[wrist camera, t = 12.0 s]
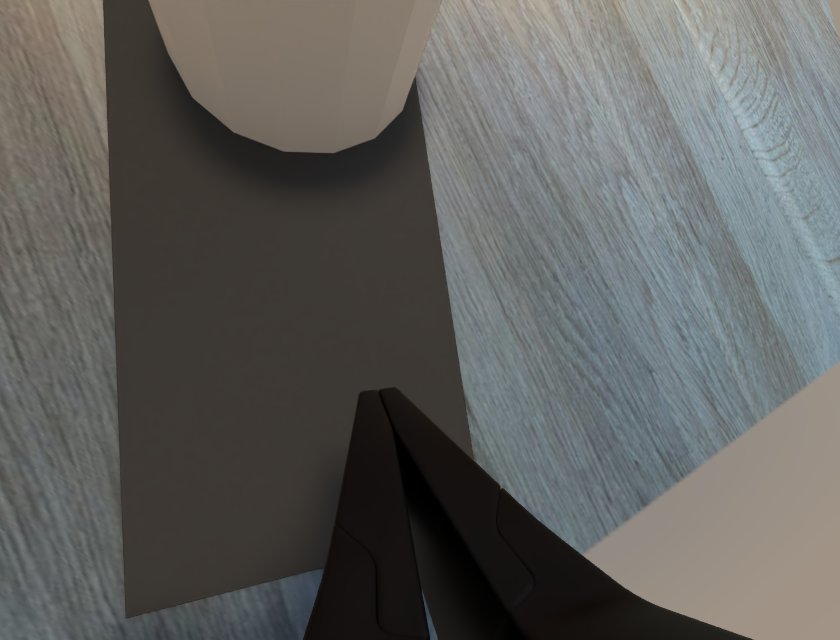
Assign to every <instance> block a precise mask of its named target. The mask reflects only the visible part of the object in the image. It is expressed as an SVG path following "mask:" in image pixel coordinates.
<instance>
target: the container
mask: <svg viewBox="0 0 840 640" xmlns="http://www.w3.org/2000/svg"><path fill="white" fill-rule="evenodd" d="M148 1H149V3H150V6H151V9H152V11H153V14H154V17H155V19H156V22H157V25H158V27H159V30H160V33H161V35H162V38H163V41H164V43H165V46H166V49H167V51H168V54H169V56H170V58H171V60H172V61H173V63H174V65H175V67H176V69H177V70H178V72H179V74H180V76H181V78H182V80H183V81H184V83H185V85H186V87H187V89H188V91H189V92H190V94H191V96H192V98H193V99H195V100H196V101H197V102H198V103H199V104H201V105H202V106H203V107H204V108H205V109H206V110H208V111H209V112H210V113H211V114H212V115H214V116H215V117H216V118H217V119H218V120H220V121H221V122H222V123H223V124H224V125H226V126H227V127H228V128H229V129H230V130H232V131H233V132H234V133H237V134H239V135H242V136H245V137H247V138H250V139H252V140H255V141H258V142H260V143H263V144H265V145H268V146H271V147H273V148H276V149H279V150H281V151H284V152H313V153H336V152H338V151H341V150H344V149H347V148H349V147H352V146H355V145H358V144H360V143H363V142H366V141H369V140H372V139H374V138H376V137H377V136H378V135H379V134H380V133H381V132H382V131H383V130H384V129H385V128H386V127H387V126H388V125H389V124H390V123H391V122H392V121H393V120H394V119H395V118H396V117H397V116H398V115H399V114H400V113H401V112H402V110H403V107H404V105H405V102H406V99H407V96H408V93H409V91H410V88H411V85H412V82H413V80H414V77H415V74H416V71H417V68H418V66H419V63H420V60H421V57H422V55H423V52H424V49H425V46H426V43H427V41H428V38H429V35H430V32H431V30H432V27H433V24H434V21H435V19H436V16H437V13H438V10H439V7H440V5H441V2H442V0H148Z"/></svg>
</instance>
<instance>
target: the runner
mask: <svg viewBox="0 0 840 640" xmlns="http://www.w3.org/2000/svg"><path fill="white" fill-rule="evenodd" d="M103 11H104V38H105V65H106V93H107V120H108V147H109V175H110V202H111V229H112V256H113V284H114V311H115V338H116V366H117V393H118V420H119V448H120V475H121V502H122V529H123V557H124V584H125V611H126V618H130V617H133V616H137V615H141V614H145V613H149V612H153V611H157V610H161V609H164V608H168V607H172V606H176V605H180V604H184V603H188V602H192V601H195V600H199V599H203V598H207V597H211V596H215V595H219V594H223V593H226V592H230V591H234V590H238V589H242V588H246V587H250V586H254V585H257V584H261V583H265V582H269V581H273V580H277V579H281V578H285V577H288V576H292V575H296V574H300V573H304V572H308V571H312V570H316V569H319V568H323V567H325V564H326V560H327V555H328V551H329V547H330V541H331V536H332V531H333V527H334V522H335V516H336V511H337V506H338V501H339V496H340V490H341V485H342V480H343V475H344V470H345V464H346V459H347V454H348V449H349V444H350V438H351V433H352V428H353V423H354V418H355V412H356V407H357V402H358V397H359V393H360V392H361V391H368V390H377V391H378V390H380V389H383V388H390V387H396V388H398V389H399V390H400V391H401V392H402V393H403V394H404V395H405V396H406V397H407V398H408V399H409V400H410V401H412V402H413V403H414V404H415V405H416V406H417V407H418V408H419V409H420V410H421V411H422V412H423V413H424V414H425V415H426V416H427V417H428V418H429V419H431V420H432V421H433V422H434V423H435V424H436V425H437V426H438V427H439V428H440V429H441V430H442V431H443V432H444V433H445V434H446V435H447V436H448V437H450V438H451V439H452V440H453V441H454V442H455V443H456V444H457V445H458V446H459V447H460V448H461V449H462V450H463V451H464V452H465V453H466V454H467V455H469V456H470V457H471V458H472V459H473V460H474V457H473V451H472V444H471V438H470V431H469V425H468V418H467V412H466V405H465V399H464V392H463V386H462V379H461V373H460V366H459V360H458V353H457V346H456V340H455V333H454V327H453V320H452V314H451V307H450V301H449V294H448V288H447V281H446V275H445V268H444V262H443V255H442V249H441V242H440V236H439V229H438V223H437V216H436V209H435V203H434V196H433V190H432V183H431V177H430V170H429V164H428V157H427V151H426V144H425V138H424V131H423V125H422V118H421V112H420V105H419V99H418V92H417V86H416V79H415V77H414V80H413V82H412V85H411V88H410V91H409V93H408V96H407V99H406V102H405V105H404V107H403V110H402V112H401V113H400V114H399V115H398V116H397V117H396V118H395V119H394V120H393V121H392V122H391V123H390V124H389V125H388V126H387V127H386V128H385V129H384V130H383V131H382V132H381V133H380V134H379V135H378V136H377V137H376V138H374V139H372V140H369V141H366V142H363V143H360V144H358V145H355V146H352V147H349V148H347V149H344V150H341V151H338V152H336V153H313V152H284V151H281V150H279V149H276V148H273V147H271V146H268V145H265V144H263V143H260V142H258V141H255V140H252V139H250V138H247V137H245V136H242V135H239V134H237V133H234V132H233V131H232V130H230V129H229V128H228V127H227V126H226V125H224V124H223V123H222V122H221V121H220V120H218V119H217V118H216V117H215V116H214V115H212V114H211V113H210V112H209V111H208V110H206V109H205V108H204V107H203V106H202V105H201V104H199V103H198V102H197V101H196V100H195V99H193V98H192V96H191V94H190V92H189V91H188V89H187V87H186V85H185V83H184V81H183V80H182V78H181V76H180V74H179V72H178V70H177V69H176V67H175V65H174V63H173V61H172V60H171V58H170V56H169V54H168V51H167V49H166V46H165V43H164V41H163V38H162V35H161V33H160V30H159V27H158V25H157V22H156V19H155V17H154V14H153V11H152V9H151V6H150V3H149V1H148V0H103Z"/></svg>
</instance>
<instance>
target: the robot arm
mask: <svg viewBox="0 0 840 640" xmlns="http://www.w3.org/2000/svg"><path fill="white" fill-rule="evenodd" d="M500 488H501V487H500V485H499V484H498V483H497V482H496V481H495V480H494V479H493V478H492V477H491V476H490V475H489V474H487V473H486V472H485V471H484V470H483V469H482V468H481V467H480V466H479V465H478V464H477V463H476V462H475V461H474V460H473V459H472V458H471V457H470V456H469V455H467V454H466V453H465V452H464V451H463V450H462V449H461V448H460V447H459V446H458V445H457V444H456V443H455V442H454V441H453V440H452V439H451V438H450V437H448V436H447V435H446V434H445V433H444V432H443V431H442V430H441V429H440V428H439V427H438V426H437V425H436V424H435V423H434V422H433V421H432V420H431V419H429V418H428V417H427V416H426V415H425V414H424V413H423V412H422V411H421V410H420V409H419V408H418V407H417V406H416V405H415V404H414V403H413V402H412V401H410V400H409V399H408V398H407V397H406V396H405V395H404V394H403V393H402V392H401V391H400V390H399V389H398V388H396V387H390V388H383V389H380V390H378V391H377V390H368V391H361V392H360V393H359V397H358V402H357V407H356V412H355V418H354V423H353V428H352V433H351V438H350V444H349V449H348V454H347V459H346V464H345V470H344V475H343V480H342V485H341V490H340V496H339V501H338V506H337V511H336V516H335V522H334V527H333V531H332V536H331V541H330V547H329V551H328V555H327V560H326V564H325V568H324V573H323V576H322V580H321V583H320V586H319V590H318V593H317V597H316V600H315V603H314V607H313V610H312V613H311V616H310V619H309V622H308V625H307V628H306V631H305V634H304V637H303V640H430V635H429V629H428V623H427V618H426V612H425V606H424V601H423V595H422V590H423V593H424V597H425V600H426V603H427V606H428V609H429V612H430V615H431V618H432V621H433V624H434V628H435V631H436V634H437V637H438V640H753V639H750V638H747V637H744V636H742V635H738V634H736V633H733V632H730V631H727V630H724V629H722V628H719V627H716V626H713V625H710V624H707V623H704V622H701V621H699V620H696V619H693V618H690V617H687V616H685V615H682V614H679V613H676V612H673V611H671V610H668V609H665V608H662V607H659V606H657V605H655V604H652V603H650V602H648V601H646V600H644V599H642V598H640V597H639V596H637V595H635V594H633V593H632V592H630V591H629V590H627V589H625V588H624V587H623V586H621V585H620V584H618V583H617V582H616V581H615V580H613V579H612V578H611V577H609V576H608V575H607V574H605V573H604V572H603V571H602V570H600V569H599V568H598V567H597V566H595V565H594V564H593V563H591V562H590V561H589V560H587V559H586V558H585V557H584V556H582V555H581V554H580V553H579V552H577V551H576V550H575V549H574V548H572V547H571V546H570V545H568V544H567V543H566V542H565V541H563V540H562V539H561V538H559V537H558V536H557V535H556V534H555V533H553V532H552V531H551V530H550V529H548V528H547V527H546V526H545V525H543V524H542V523H541V522H540V521H539V520H537V519H536V518H535V517H534V516H533V515H532V514H531V513H529V512H528V511H527V510H526V509H525V508H524V507H523V506H522V505H521V504H519V503H518V502H517V501H516V500H515V499H514V498H513V497H512V496H511V495H510V494H509V493H508V492H507V491H506V490H505V489H503V488H501V489H500ZM421 587H422V589H421Z"/></svg>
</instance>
